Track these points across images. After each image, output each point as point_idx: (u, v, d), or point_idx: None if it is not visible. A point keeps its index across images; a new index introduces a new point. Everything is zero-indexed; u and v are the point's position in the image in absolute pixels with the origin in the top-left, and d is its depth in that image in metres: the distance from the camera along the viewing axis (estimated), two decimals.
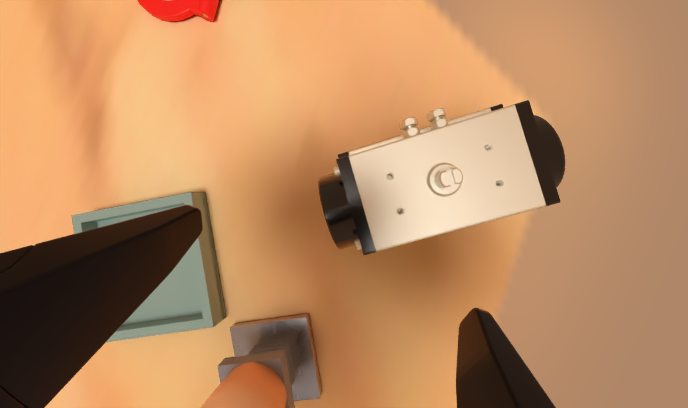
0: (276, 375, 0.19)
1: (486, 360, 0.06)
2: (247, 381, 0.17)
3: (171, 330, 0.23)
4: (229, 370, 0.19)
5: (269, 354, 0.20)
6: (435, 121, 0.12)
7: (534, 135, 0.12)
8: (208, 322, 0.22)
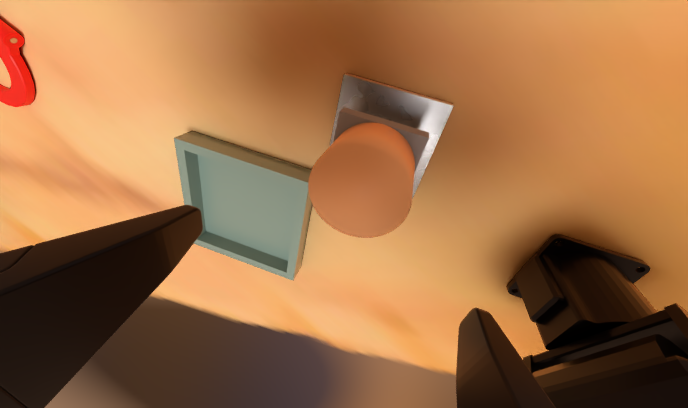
0: (356, 125, 0.14)
1: (486, 360, 0.06)
2: None
3: (300, 221, 0.22)
4: None
5: None
6: None
7: None
8: (303, 185, 0.20)
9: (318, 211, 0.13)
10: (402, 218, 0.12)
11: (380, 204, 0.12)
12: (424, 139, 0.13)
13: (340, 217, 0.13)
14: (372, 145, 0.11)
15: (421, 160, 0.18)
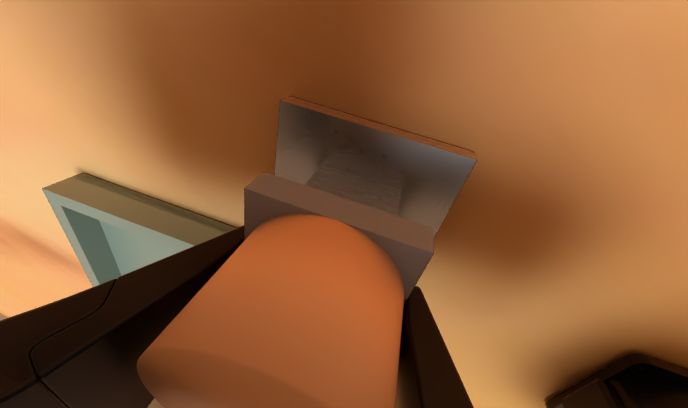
0: (279, 219, 0.07)
1: (404, 329, 0.06)
2: None
3: None
4: None
5: None
6: None
7: None
8: None
9: None
10: None
11: None
12: (424, 254, 0.06)
13: None
14: (265, 355, 0.04)
15: None
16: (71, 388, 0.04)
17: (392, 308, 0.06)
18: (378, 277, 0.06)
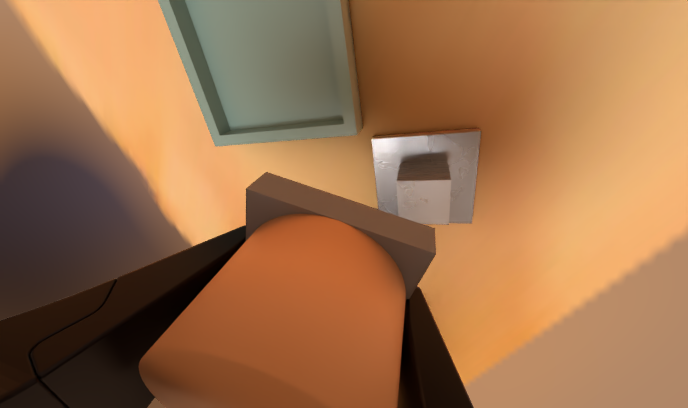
0: (281, 219, 0.06)
1: (404, 329, 0.06)
2: None
3: (303, 136, 0.19)
4: None
5: None
6: None
7: None
8: (350, 128, 0.17)
9: None
10: None
11: None
12: (426, 255, 0.06)
13: None
14: (268, 356, 0.04)
15: None
16: (72, 388, 0.04)
17: (394, 308, 0.06)
18: (380, 277, 0.06)
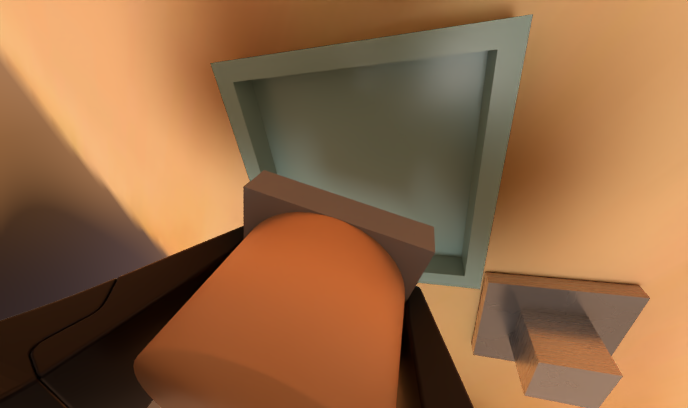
0: (278, 218, 0.06)
1: (404, 329, 0.06)
2: None
3: None
4: None
5: None
6: None
7: None
8: (473, 282, 0.13)
9: None
10: None
11: None
12: (424, 253, 0.06)
13: None
14: (265, 355, 0.04)
15: None
16: (72, 388, 0.04)
17: (393, 308, 0.06)
18: (379, 276, 0.06)
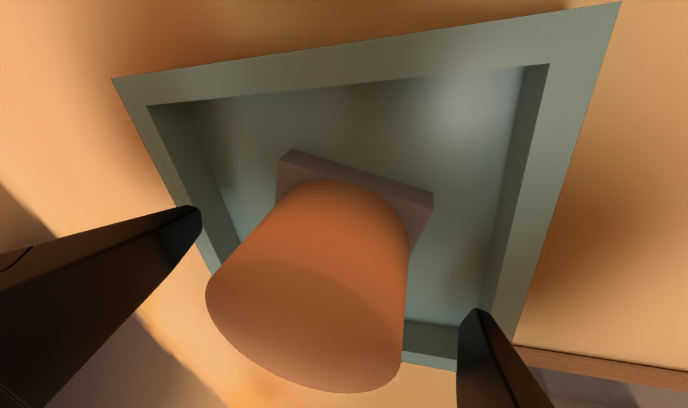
0: (306, 184, 0.08)
1: (486, 360, 0.06)
2: None
3: None
4: None
5: None
6: None
7: None
8: None
9: (235, 345, 0.07)
10: (383, 380, 0.06)
11: (339, 354, 0.06)
12: (425, 210, 0.08)
13: (273, 359, 0.07)
14: (312, 261, 0.05)
15: None
16: None
17: (400, 251, 0.07)
18: (389, 226, 0.07)
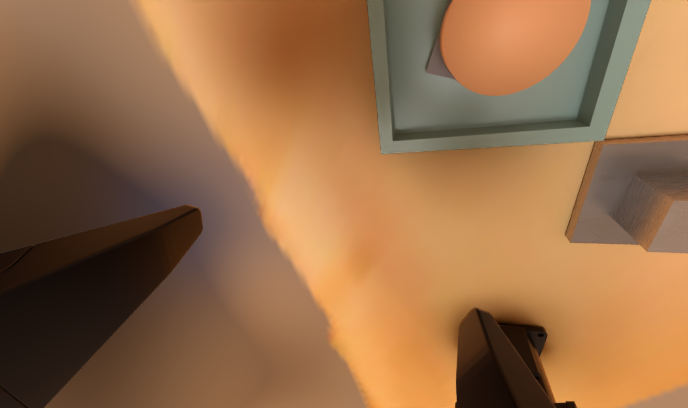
0: None
1: (486, 360, 0.06)
2: None
3: (519, 142, 0.15)
4: (439, 56, 0.14)
5: None
6: None
7: None
8: (597, 132, 0.14)
9: (450, 64, 0.11)
10: (566, 53, 0.10)
11: (539, 35, 0.10)
12: None
13: (478, 69, 0.11)
14: None
15: (631, 238, 0.17)
16: None
17: None
18: None
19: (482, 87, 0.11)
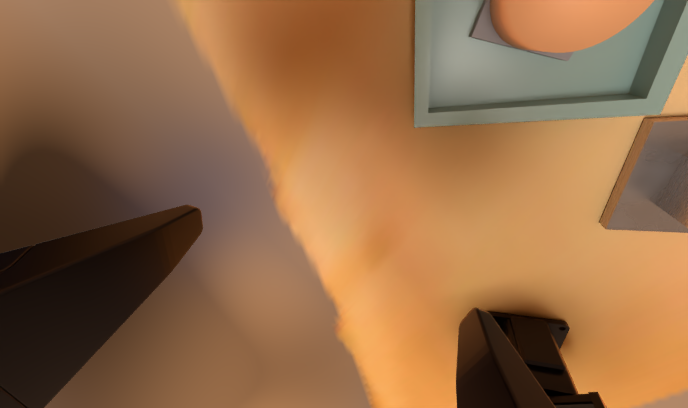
0: None
1: (486, 360, 0.06)
2: None
3: (566, 115, 0.14)
4: (488, 18, 0.13)
5: None
6: None
7: None
8: (654, 105, 0.13)
9: (514, 16, 0.10)
10: (648, 2, 0.09)
11: None
12: None
13: (545, 21, 0.10)
14: None
15: (671, 225, 0.16)
16: None
17: None
18: None
19: (547, 42, 0.10)
